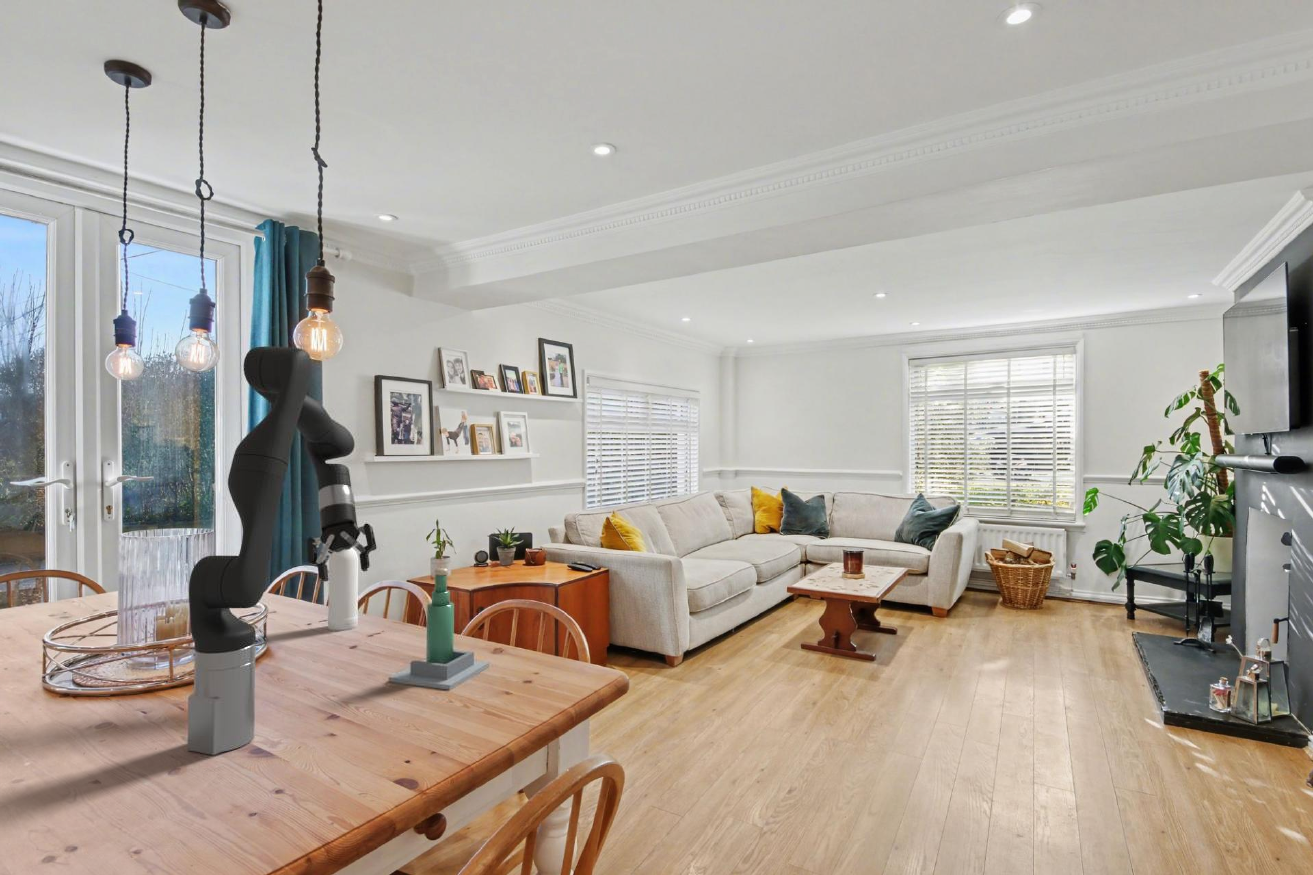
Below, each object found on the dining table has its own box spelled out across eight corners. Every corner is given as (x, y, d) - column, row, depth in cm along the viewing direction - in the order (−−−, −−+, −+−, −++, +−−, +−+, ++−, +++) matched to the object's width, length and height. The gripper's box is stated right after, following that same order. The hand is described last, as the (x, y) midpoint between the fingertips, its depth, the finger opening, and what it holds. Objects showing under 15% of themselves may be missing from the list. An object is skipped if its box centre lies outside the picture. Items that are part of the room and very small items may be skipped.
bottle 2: (443, 674, 155) (444, 572, 155) (420, 672, 157) (422, 570, 157) (458, 667, 161) (459, 567, 161) (436, 664, 162) (438, 566, 163)
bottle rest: (450, 689, 149) (450, 671, 149) (388, 681, 153) (388, 663, 153) (489, 666, 164) (489, 650, 164) (431, 660, 169) (432, 643, 169)
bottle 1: (363, 624, 201) (364, 521, 201) (348, 631, 193) (349, 525, 193) (337, 623, 202) (338, 521, 202) (321, 630, 194) (323, 524, 194)
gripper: (298, 511, 154) (304, 580, 148) (363, 495, 156) (372, 563, 150) (312, 520, 161) (318, 587, 155) (374, 505, 163) (382, 570, 157)
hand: (345, 575), depth 153 cm, fingers open, 8 cm apart
